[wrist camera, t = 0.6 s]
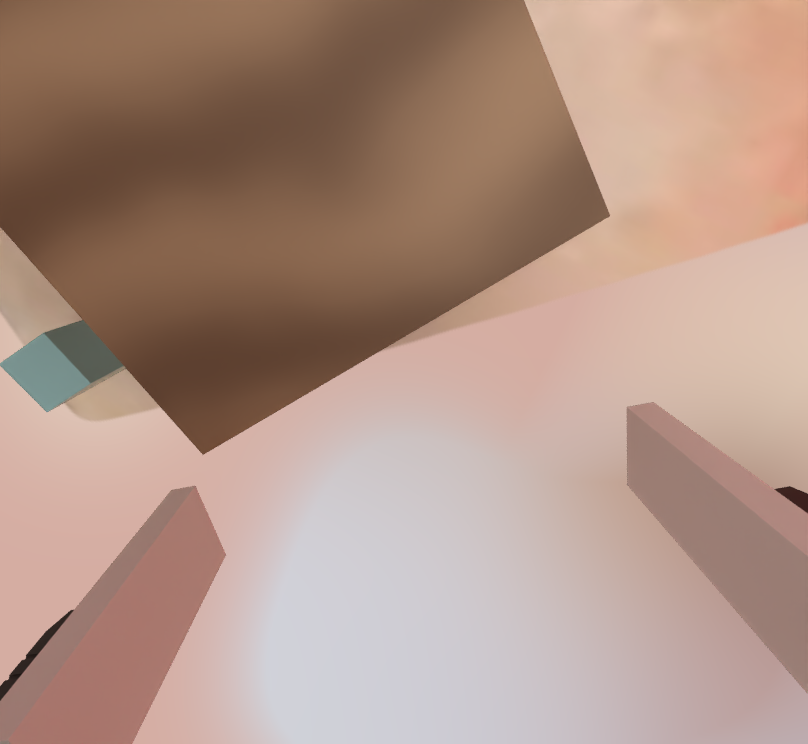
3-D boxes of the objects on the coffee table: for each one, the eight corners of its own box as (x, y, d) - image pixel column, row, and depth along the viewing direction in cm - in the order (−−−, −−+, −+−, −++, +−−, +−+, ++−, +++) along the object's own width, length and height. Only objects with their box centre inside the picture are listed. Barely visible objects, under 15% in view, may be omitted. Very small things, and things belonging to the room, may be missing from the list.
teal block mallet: (101, 326, 36) (-2, 364, 27) (248, 225, 34) (191, 228, 24) (134, 363, 38) (47, 412, 28) (278, 269, 35) (235, 288, 26)
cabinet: (182, 137, 31) (-216, -16, 11) (369, -3, 29) (302, -553, 8) (311, 322, 36) (202, 454, 16) (480, 217, 34) (609, 215, 13)
